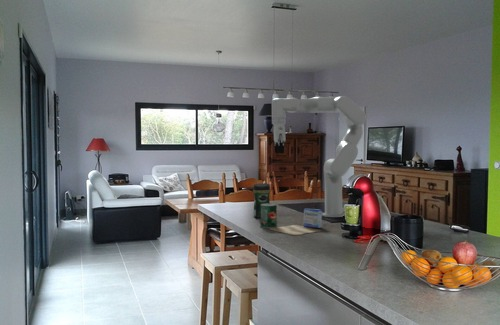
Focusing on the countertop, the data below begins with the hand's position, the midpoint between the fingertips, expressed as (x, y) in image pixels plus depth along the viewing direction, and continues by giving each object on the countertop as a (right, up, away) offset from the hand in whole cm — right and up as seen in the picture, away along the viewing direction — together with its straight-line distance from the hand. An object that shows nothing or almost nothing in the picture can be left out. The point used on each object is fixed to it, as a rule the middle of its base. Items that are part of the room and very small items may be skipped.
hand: (279, 153), depth 247 cm
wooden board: (+5, -37, -34) cm, 50 cm away
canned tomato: (-7, -37, -24) cm, 44 cm away
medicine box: (+14, -37, -28) cm, 48 cm away
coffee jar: (-9, -35, +5) cm, 37 cm away
